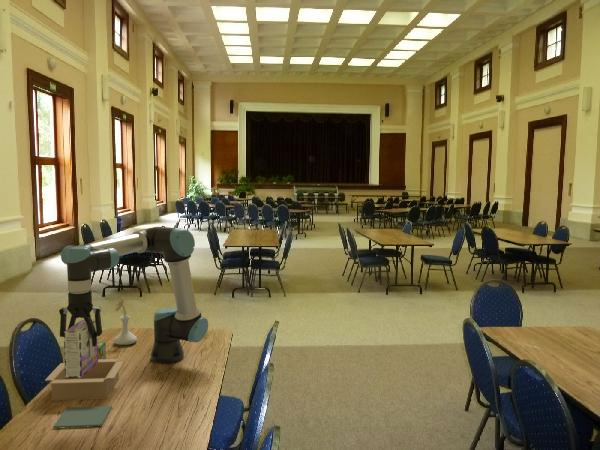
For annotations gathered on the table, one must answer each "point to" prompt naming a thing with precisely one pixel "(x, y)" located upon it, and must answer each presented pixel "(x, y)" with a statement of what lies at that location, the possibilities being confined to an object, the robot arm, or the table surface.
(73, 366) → the candy box
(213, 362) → the table surface
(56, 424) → the mat
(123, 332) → the flower in vase
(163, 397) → the table surface
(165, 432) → the table surface
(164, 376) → the table surface
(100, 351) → the chalk box
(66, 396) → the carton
